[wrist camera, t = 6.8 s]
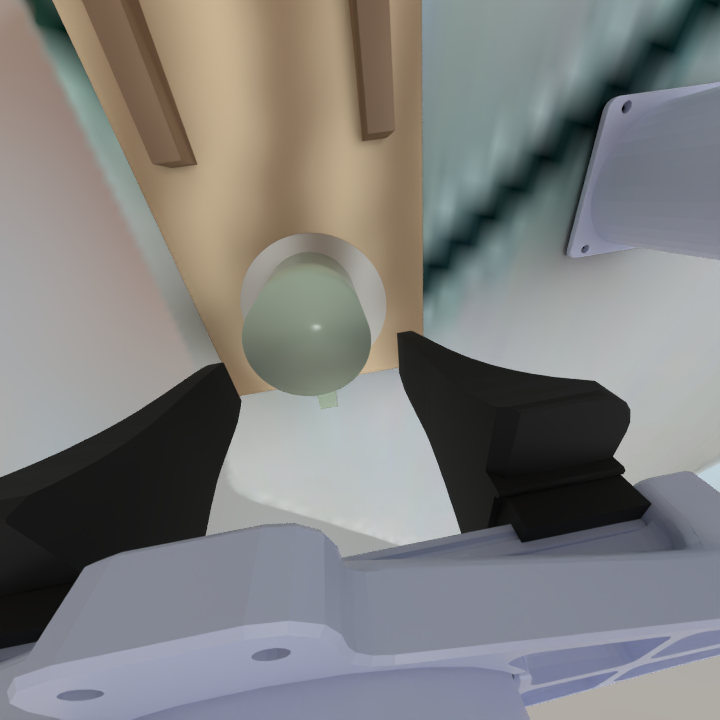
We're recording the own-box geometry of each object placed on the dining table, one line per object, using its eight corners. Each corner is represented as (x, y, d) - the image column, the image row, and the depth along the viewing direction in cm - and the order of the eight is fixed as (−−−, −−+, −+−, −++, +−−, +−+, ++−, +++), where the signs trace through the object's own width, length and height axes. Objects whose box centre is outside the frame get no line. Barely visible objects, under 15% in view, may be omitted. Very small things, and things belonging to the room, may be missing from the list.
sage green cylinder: (348, 245, 15) (364, 272, 10) (363, 362, 20) (380, 427, 14) (256, 259, 15) (220, 293, 10) (291, 374, 19) (280, 444, 14)
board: (413, -164, 10) (441, -268, 8) (419, 357, 21) (431, 376, 19) (6, -125, 9) (-93, -228, 7) (240, 389, 21) (230, 412, 18)
